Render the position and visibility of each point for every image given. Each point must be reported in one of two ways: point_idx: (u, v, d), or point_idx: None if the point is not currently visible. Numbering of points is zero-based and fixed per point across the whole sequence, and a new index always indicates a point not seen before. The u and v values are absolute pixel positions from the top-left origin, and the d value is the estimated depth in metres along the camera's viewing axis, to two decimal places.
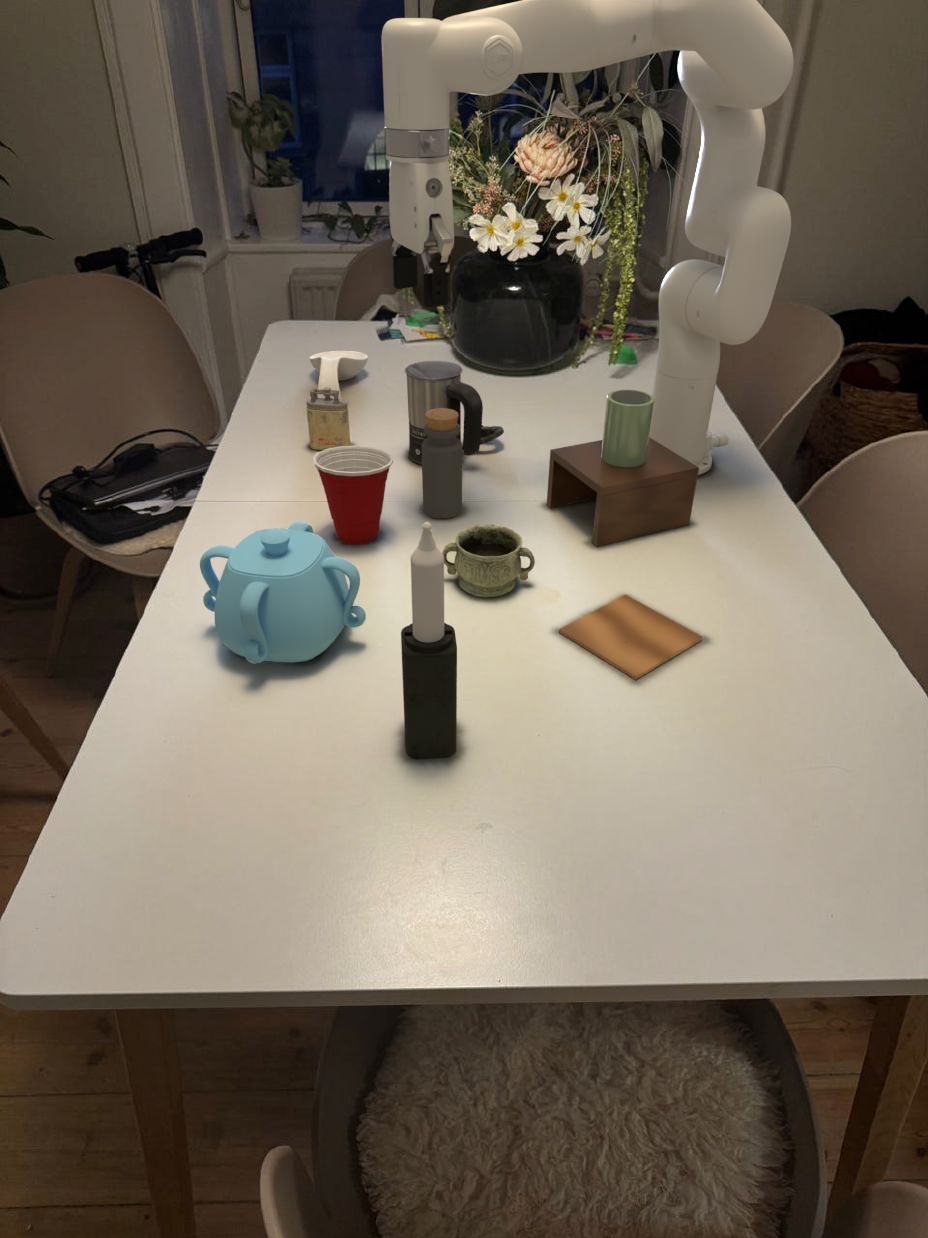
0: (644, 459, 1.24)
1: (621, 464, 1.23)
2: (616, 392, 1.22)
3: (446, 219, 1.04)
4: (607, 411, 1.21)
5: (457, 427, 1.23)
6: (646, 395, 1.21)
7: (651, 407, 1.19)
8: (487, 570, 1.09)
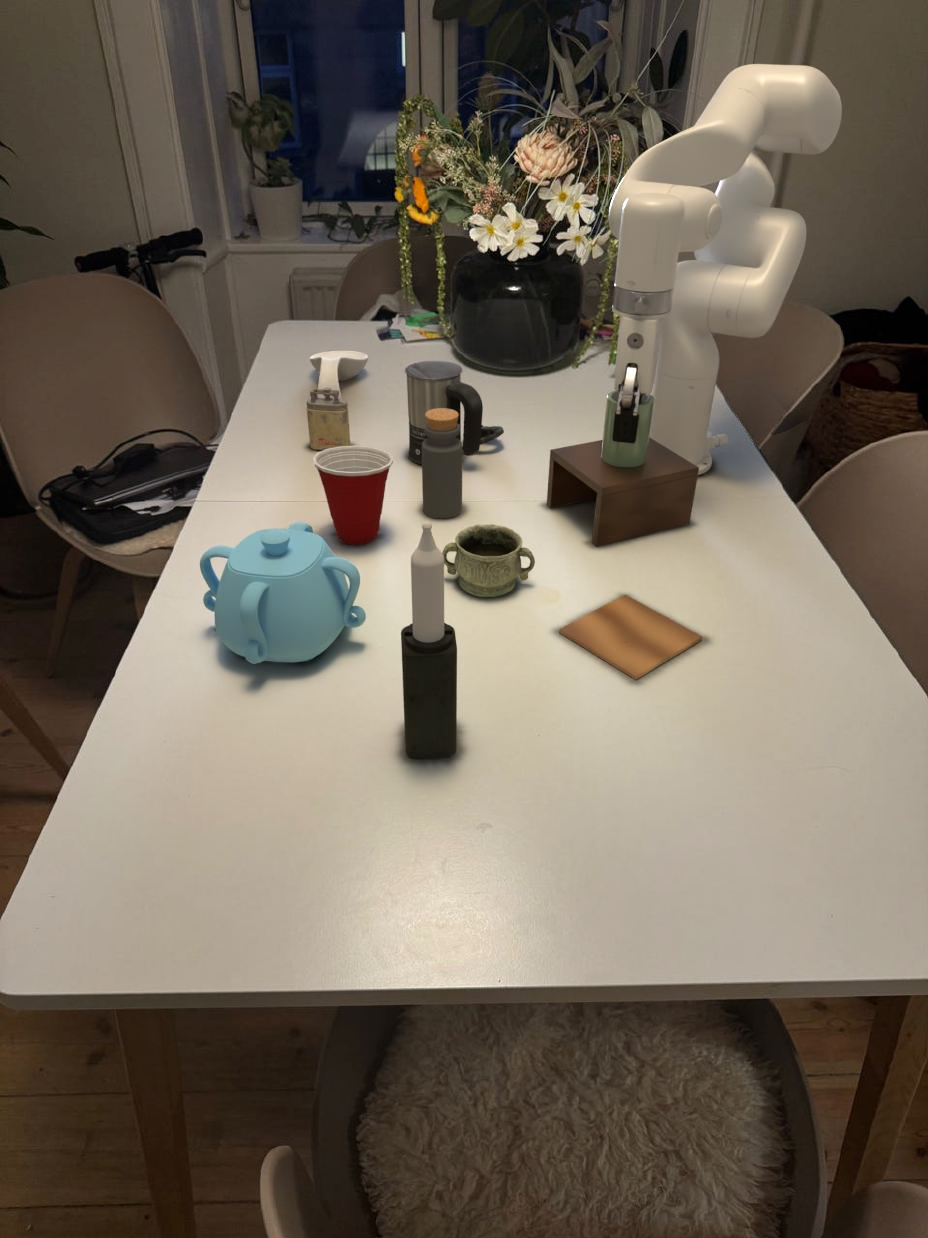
0: (644, 459, 1.24)
1: (621, 464, 1.23)
2: (616, 392, 1.22)
3: (643, 369, 1.13)
4: (607, 411, 1.21)
5: (457, 427, 1.23)
6: None
7: (651, 407, 1.19)
8: (487, 570, 1.09)
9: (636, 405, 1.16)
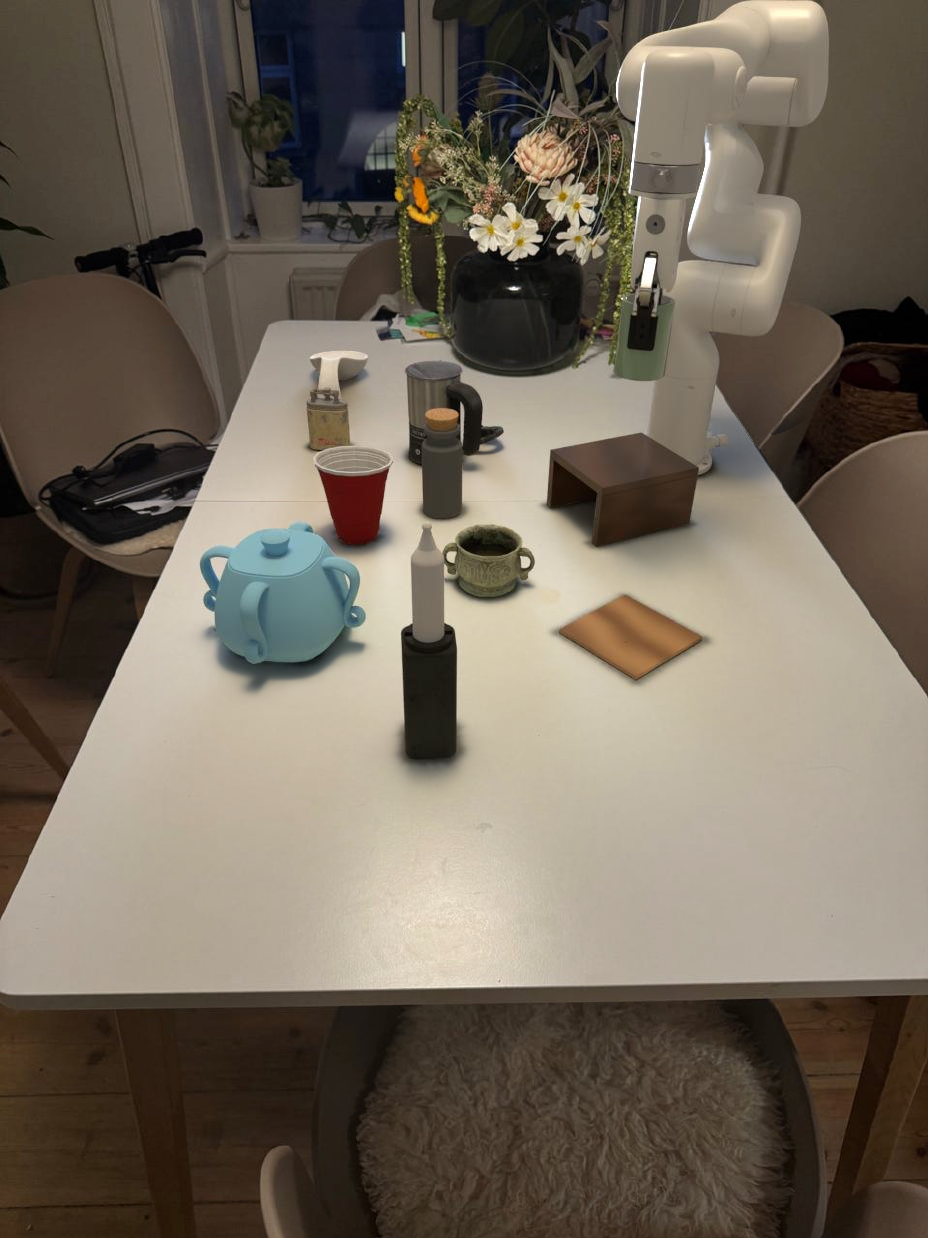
0: (663, 373, 1.09)
1: (636, 377, 1.08)
2: (631, 294, 1.07)
3: (663, 258, 0.98)
4: (621, 315, 1.06)
5: (457, 427, 1.23)
6: (666, 297, 1.06)
7: (672, 309, 1.05)
8: (487, 570, 1.09)
9: (655, 304, 1.01)
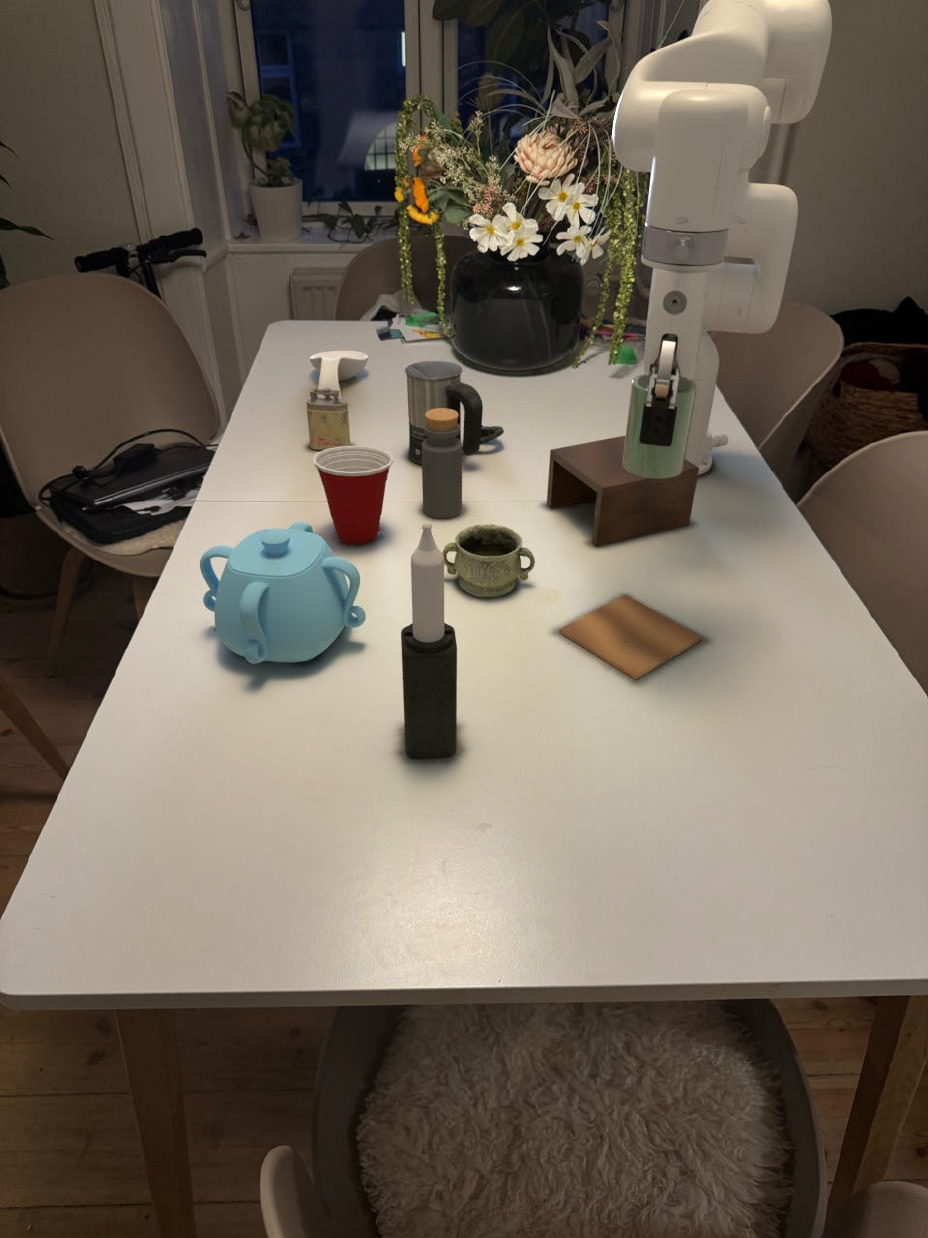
0: (681, 467, 0.91)
1: (650, 474, 0.90)
2: (643, 376, 0.90)
3: (685, 343, 0.81)
4: (632, 402, 0.89)
5: (457, 427, 1.23)
6: (685, 380, 0.89)
7: (693, 396, 0.87)
8: (487, 570, 1.09)
9: (674, 394, 0.84)
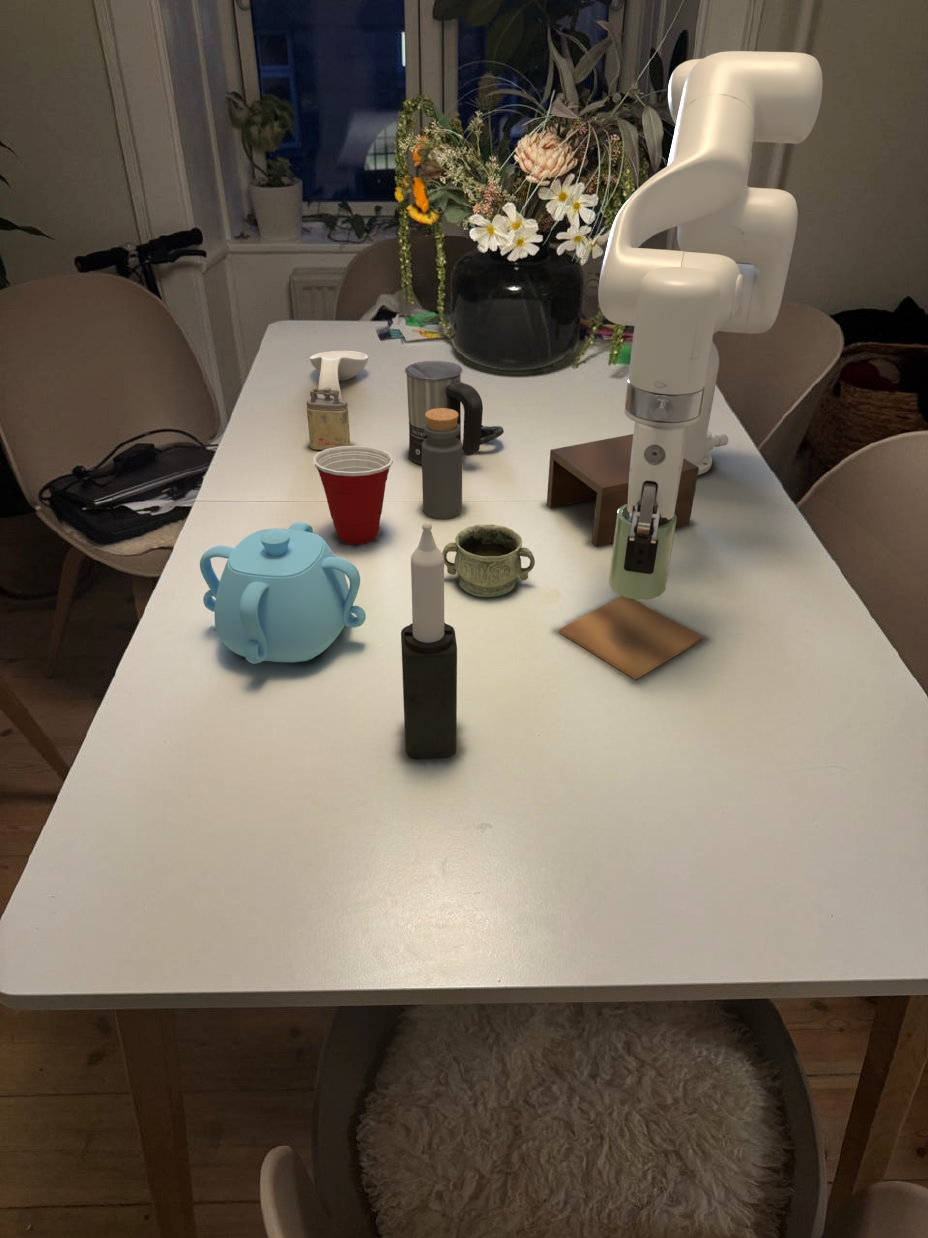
0: (663, 588, 0.99)
1: (634, 596, 0.98)
2: None
3: (664, 489, 0.88)
4: (617, 532, 0.96)
5: (457, 427, 1.23)
6: None
7: (673, 528, 0.95)
8: (487, 570, 1.09)
9: (655, 530, 0.91)
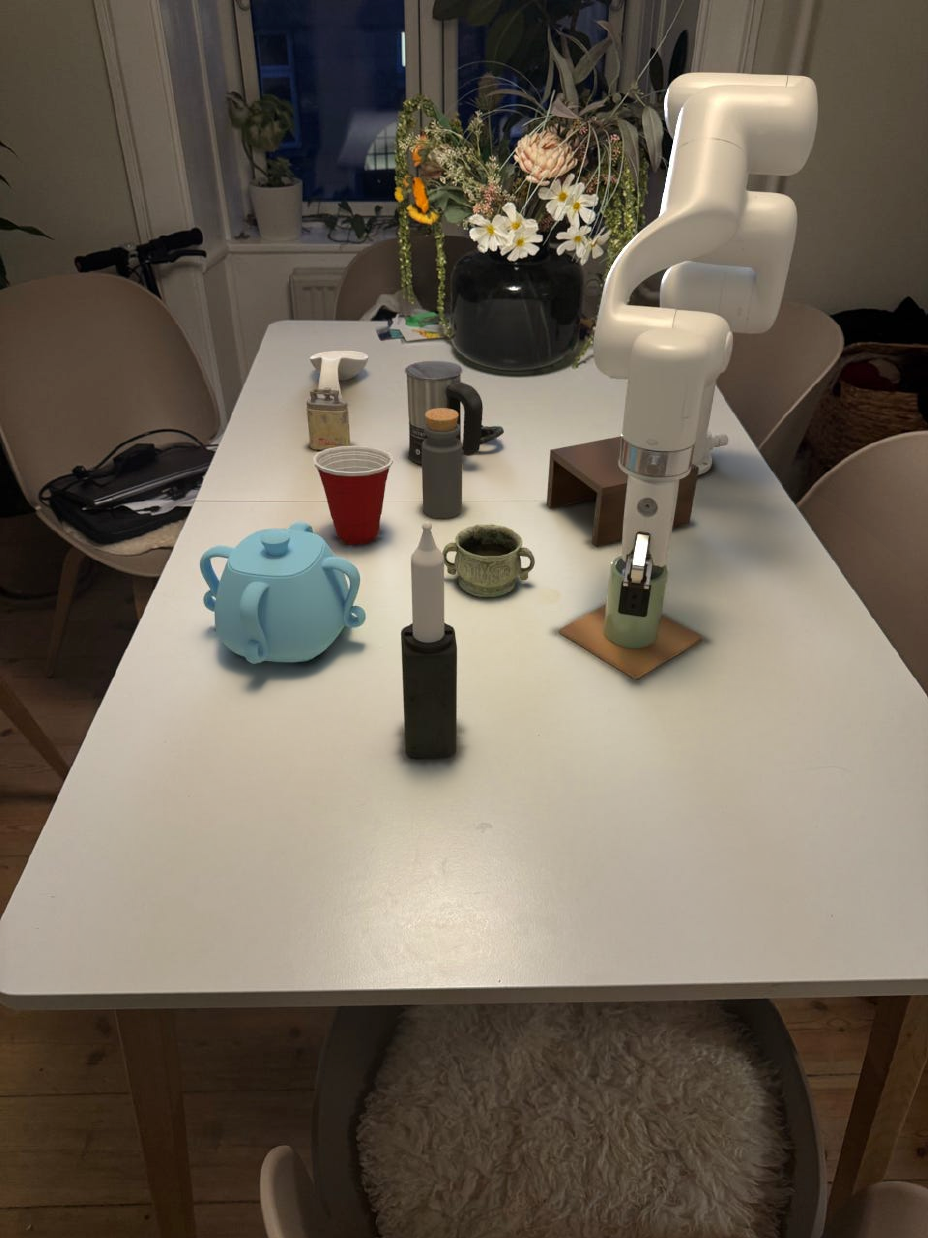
0: (655, 637, 1.03)
1: (628, 645, 1.02)
2: (621, 558, 1.01)
3: (656, 539, 0.91)
4: (611, 584, 1.00)
5: (457, 427, 1.23)
6: None
7: (665, 581, 0.98)
8: (487, 570, 1.09)
9: (648, 575, 0.94)
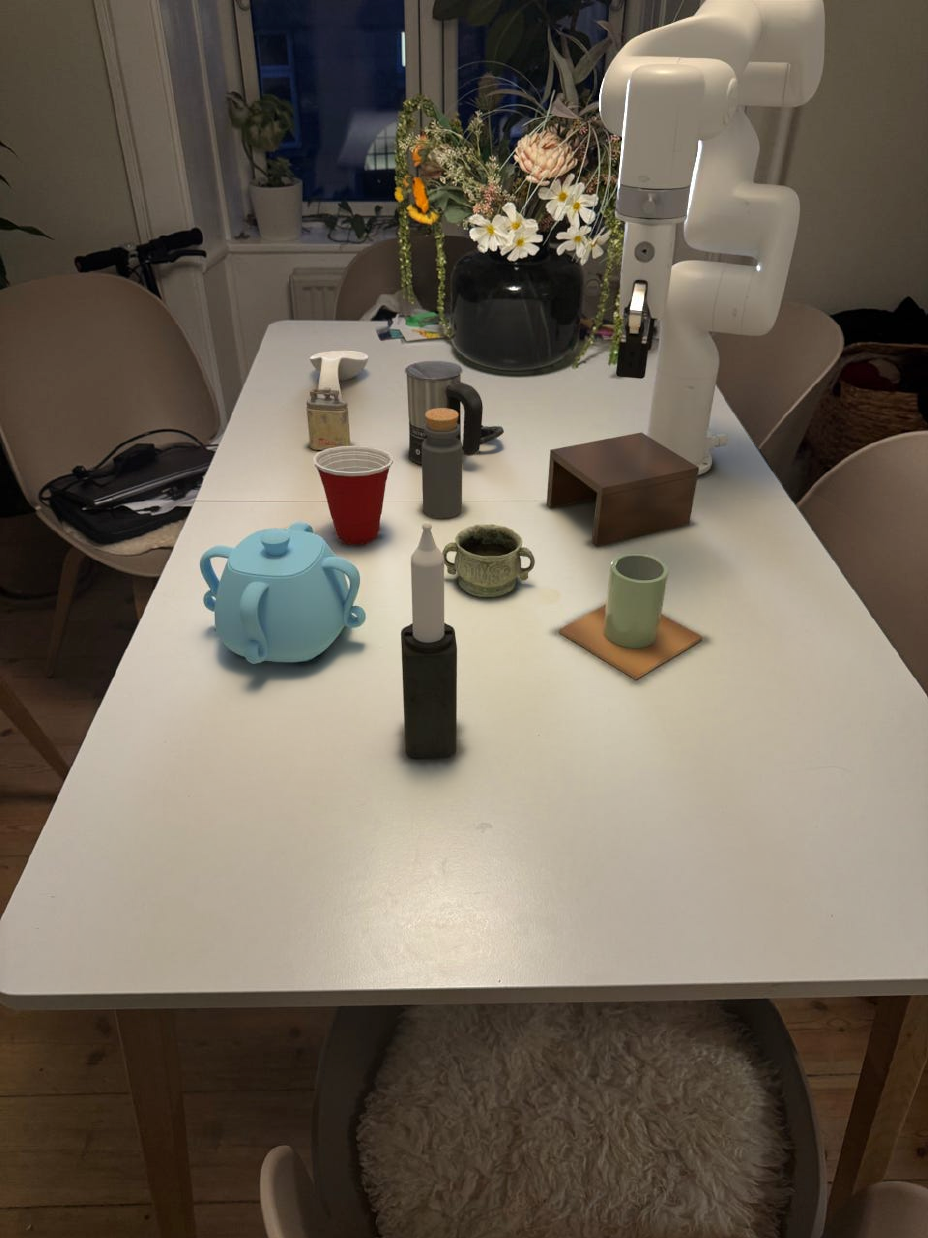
0: (655, 637, 1.03)
1: (628, 645, 1.02)
2: (621, 558, 1.01)
3: (654, 287, 0.92)
4: (611, 584, 1.00)
5: (457, 427, 1.23)
6: (658, 565, 1.00)
7: (665, 581, 0.98)
8: (487, 570, 1.09)
9: (646, 329, 0.95)
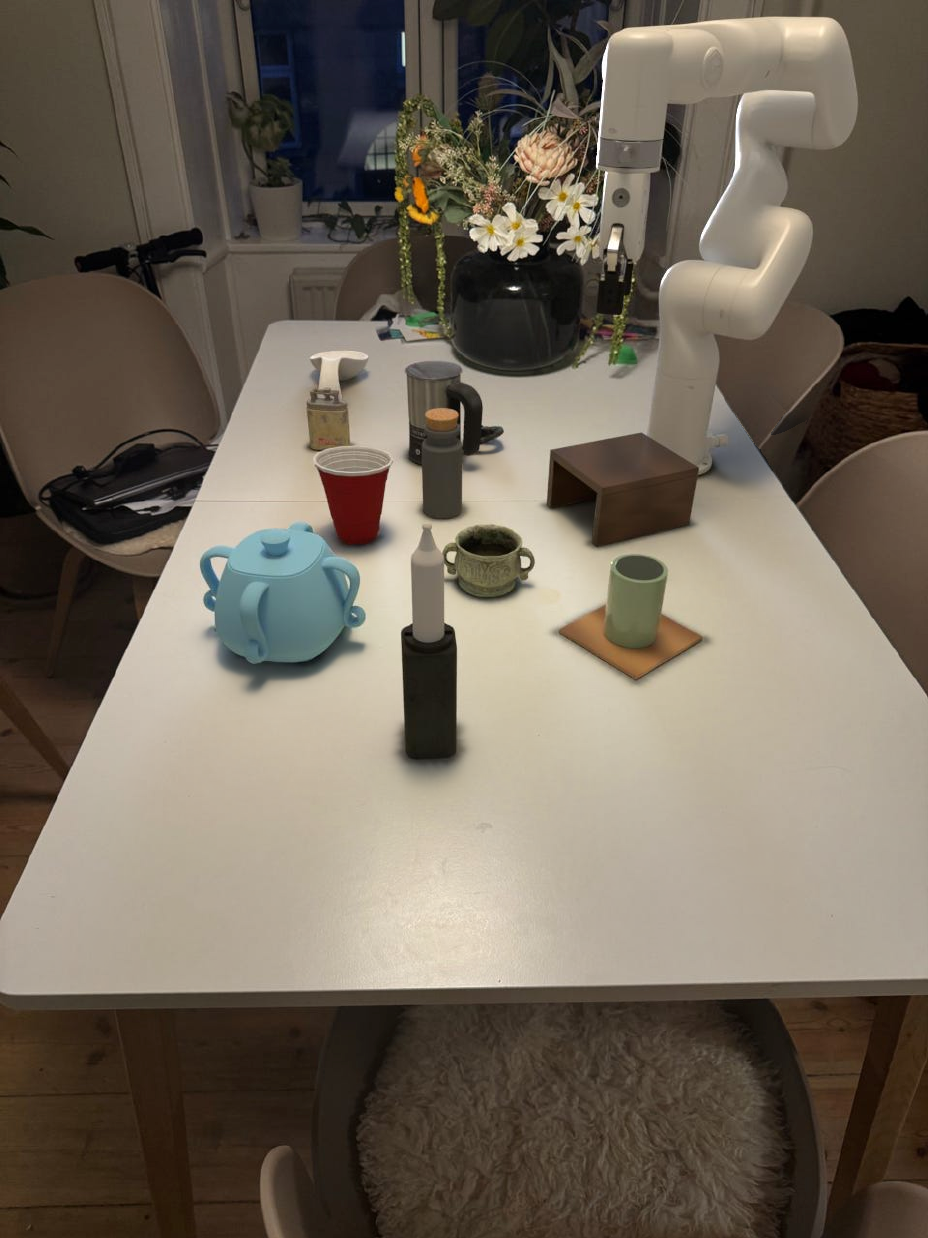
0: (655, 637, 1.03)
1: (628, 645, 1.02)
2: (621, 558, 1.01)
3: (629, 230, 1.04)
4: (611, 584, 1.00)
5: (457, 427, 1.23)
6: (658, 565, 1.00)
7: (665, 581, 0.98)
8: (487, 570, 1.09)
9: (622, 268, 1.06)
